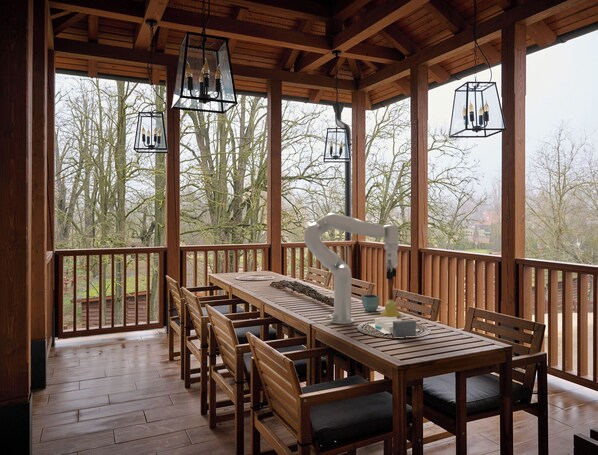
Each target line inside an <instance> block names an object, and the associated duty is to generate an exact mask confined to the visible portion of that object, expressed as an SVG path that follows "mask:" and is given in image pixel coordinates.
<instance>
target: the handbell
mask: <svg viewBox="0 0 598 455" xmlns="http://www.w3.org/2000/svg"><path fill="white" fill-rule="evenodd" d="M387 281H388V282H387V284H388V288H389V290H388V291H389V292H388V296H389V297H388V301H386V302H385V306H384V307H385V308H384V309H383V311H382V312H380V315H381V316H382V317H385V318H388V317H397V318H399V317H401V316H402V313H401V312H400V311H398V308H397V303H396V302H395V301H394V284H395V277H393V279H387Z"/></svg>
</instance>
